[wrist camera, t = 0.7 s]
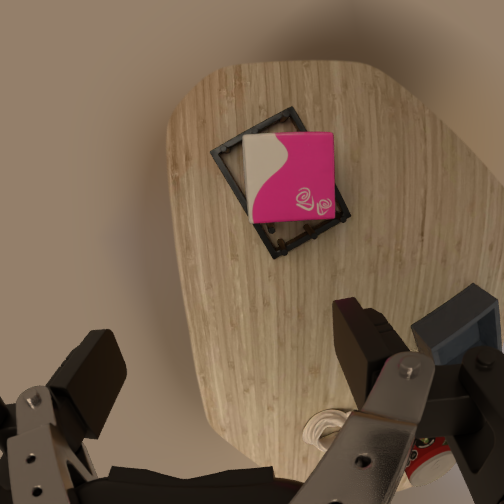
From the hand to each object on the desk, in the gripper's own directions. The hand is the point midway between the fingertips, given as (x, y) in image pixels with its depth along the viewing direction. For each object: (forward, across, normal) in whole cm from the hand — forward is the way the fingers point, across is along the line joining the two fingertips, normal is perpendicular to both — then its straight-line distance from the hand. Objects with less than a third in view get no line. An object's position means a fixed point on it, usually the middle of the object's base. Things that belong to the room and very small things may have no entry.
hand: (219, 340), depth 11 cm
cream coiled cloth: (+21, -8, +30) cm, 38 cm away
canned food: (+22, -21, +36) cm, 47 cm away
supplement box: (+22, -4, -4) cm, 23 cm away
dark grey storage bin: (+21, -26, +19) cm, 39 cm away
